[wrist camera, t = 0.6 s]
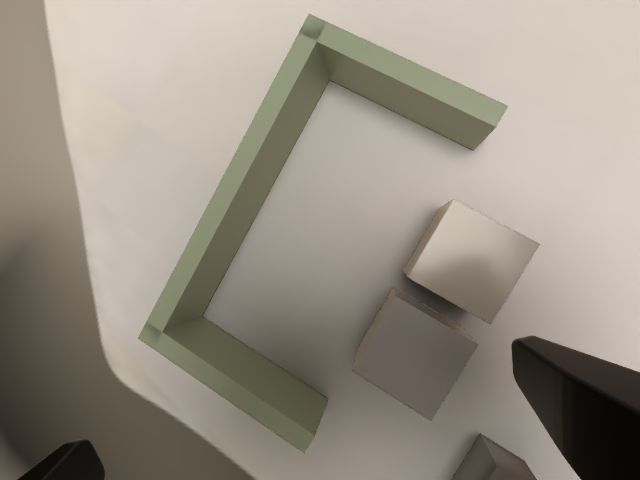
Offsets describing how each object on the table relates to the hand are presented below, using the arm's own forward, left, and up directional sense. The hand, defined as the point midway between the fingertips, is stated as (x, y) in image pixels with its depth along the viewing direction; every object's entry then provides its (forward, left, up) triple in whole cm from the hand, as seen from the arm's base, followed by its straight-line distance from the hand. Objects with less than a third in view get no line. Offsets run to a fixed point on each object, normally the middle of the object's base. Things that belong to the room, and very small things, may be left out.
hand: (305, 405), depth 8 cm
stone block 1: (-3, -5, -13) cm, 15 cm away
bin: (+4, -2, -13) cm, 14 cm away
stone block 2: (-3, 0, -13) cm, 14 cm away
